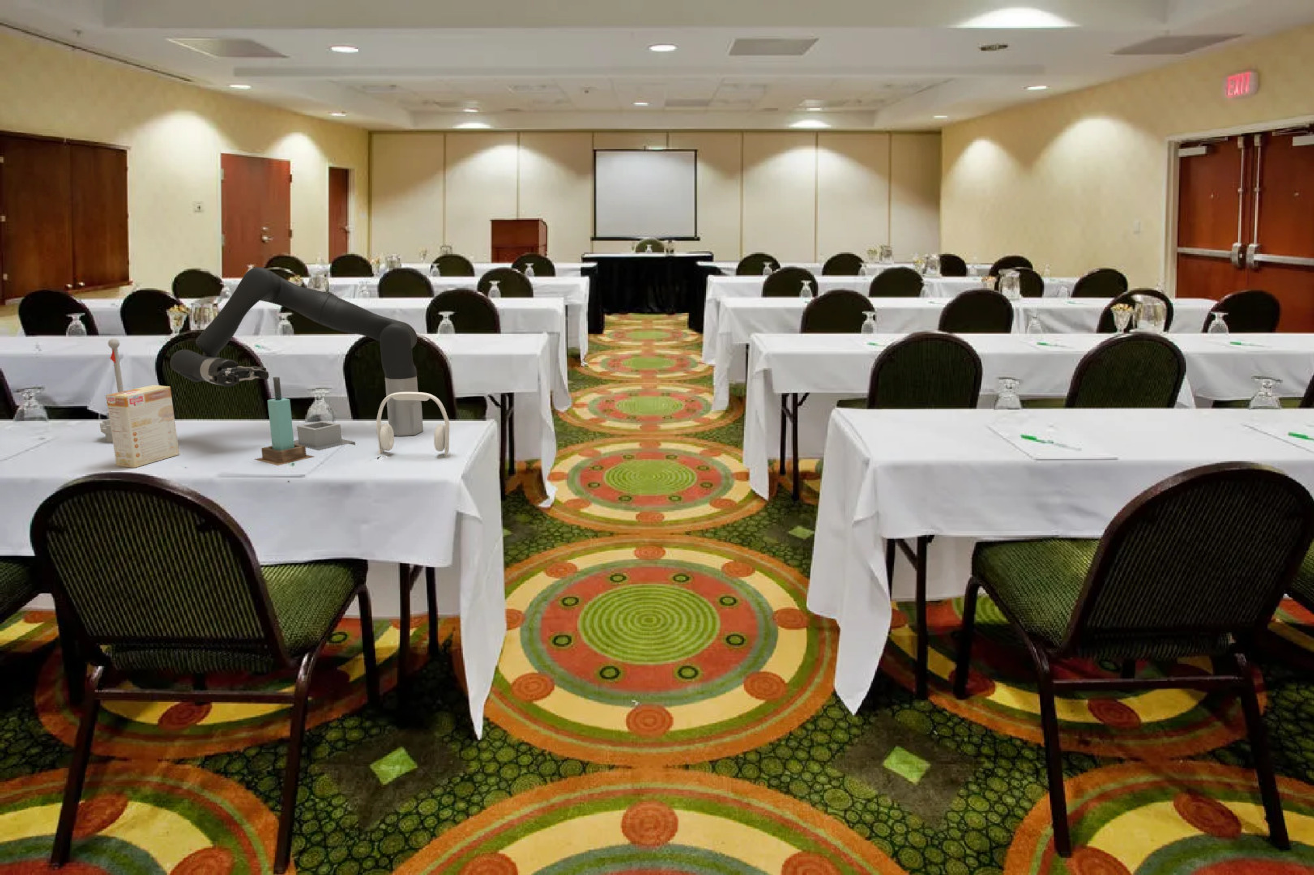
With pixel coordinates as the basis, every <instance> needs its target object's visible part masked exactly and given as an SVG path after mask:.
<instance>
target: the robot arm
mask: <svg viewBox="0 0 1314 875" xmlns="http://www.w3.org/2000/svg"><path fill="white" fill-rule="evenodd" d="M260 301H261V302H266V303H268V304H269V303H270V304H274V305H278V306H281V307H284V308H288V309H290V310H292V311H294V312H296V313H298V314H300V315H302V316H303V317H306V318H307V319H309V320H311V321H313V322H315V323H316V324H317V323H318V324H319V325H322V326H324V327H327V328H330V329H332V330H336V331H338V332H344V333H349V334H353V335H359V336H365V337H367V338H368V337H369V338H371V339H373V340H375V341H377V342H379V350H380V357H381V358H380V359H381V365H382V369H383V372H384V381H385V394H386V395H385V396H386V397H387V396H388V395H390V394H393V393H398V392H419V389H418V387H419V386H418V377H417V376H418V373H417V371H418V370H417V367H416V366H415V363H414V360H413V348H414V347H415V346H416V344H417V342H418V335H417V332H416V330H415V329H414V327H413V326H411V325H410V324H409V323H407V322H405V321H400V320H397V319H393V318H389V317H386V316H382V315H379V314H376V313H374V312H372V311H370V310H368V309H365V308H363V307H362V306H359V305H356V304H355V303H353V302H350V301H347V300H346V299H343V298H340V297H338V296H336V295H332V294H329V293H327V292H323V291H320V290H316V289H311V288H306V287H303V286H300V285H298V284H295V283H293V282H292V281H290V280H287V279H285V278H283V276H282V277H281V276H280V275H279V274H276V273H275V272H273V271H271V270H269V269H267V268H265V267H260V266H256V267H252V268H250V269H248V270H247V271H246V272H245V274H244V275H243V277H242V278H241V280H240V282H239V283H238V285H237V286H236V288H235V289H234V291H233V293H232V294H231V296H230V298H229V299H228V301H227V302H226V303H225V304H224V305H223V308H221V310H220V311H219V312H218V314H217V315H216V316H215V317H214V319H213V320H211V322H210V323H209V324H208V325H207V326H206V328H205V329H204V330H203V331H202V332H201V333H200V334H199V335H198V337H196V340H195V345H196V346H197V347H198V349H200V350H201V351H202V352H203V353H202V354H199V353H198V352H195V351H192V350H190V349H180V350H177V351H176V352H174V353H173V354H172V355H171V358H170V361H169V363H170V367H171V369H172V370H173V371H174V372H176V373H177V374H179V375H181V376H182V377H184V378H186V379H188V380H190V381H191V382H193V383H199V382H202V381H203V382H208V383H209V384H214V385H217V386H224V387H232V386H233V387H234V386H235V385H236V384H240V382H242V381H253V380H254V379H260V380H261V379H263V380H268V379H269V375H270V374H269V371H267V368H266V367H262V366H255V365H252V366H242V365H240V364H239V363H238V362H237V361H235V360H233V359H229V358H224V357H218V355H219V353H220V352H221V351H222V350H223V349H224V348H225V347H226V345H227V344H228V343H229V342H230V341H231V339H232V338H233V337H234V335H235V333H237V330H238V328H239V326H240V325H241V322H242V321H243V320H244V318H245V316H246V315H247V314H248V312H249V311H250V310H251V309H252V308H253V307H254V306H256V305H257V303H259V302H260ZM248 376H249V377H248ZM386 397H385V398H386ZM386 407H387V408H386V409H387V421H388V422H387V424H389V425H390V426H391V427H392V429H393V433H394V437H395V436H396V437H397V436H399V437H406V436H407V437H408V436H416V435H417V434H420V433H421V432H423V431H424V424H423V408H422V407H423V406H422V401H419V400H395V399H393V398H390V399H389V400H388V401H387V402H386Z"/></svg>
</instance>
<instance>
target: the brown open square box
mask: <svg viewBox="0 0 1314 875" xmlns="http://www.w3.org/2000/svg"><path fill="white" fill-rule="evenodd" d="M294 447H295V448H291V449H286V450H282V451H278V450H274V449H273V448H272V445H270V446H264V447H261V455H262V456H261V457H259V458H255V459H254V461H255V460H256V461H258V462H259V461H260V462H263V463H265V464H271V465H274V466H282V465H285V464H286V465H287V464H290V463H295V462H298V461H299V462H300V461H303V460H306V459H311V458H314V457H315V456H313V455H309V454H307V448H306V447H305V446H302V445H298V444H294Z"/></svg>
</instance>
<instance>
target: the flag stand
mask: <svg viewBox="0 0 1314 875" xmlns="http://www.w3.org/2000/svg"><path fill="white" fill-rule="evenodd" d="M120 344H121V343H120V340H118V339H117V338H110V339H109V340H108V342H107V345H108V347H109V348H111V352H112V353H111V354H110V355H111V356H109V359H110V360H111V361H112V362H113V367H114V373H115V374H114V376H115V382H116V388H117V393H118V392H123V391H124V385H123V378H122V370H121V364H120V356H119V349H118V348H119V347H120ZM99 427H100V428H99V429H100V432H101V433H102V434H104V435H105V440H106V442H108V443H113V438H112V432H111V425H110V419H105V420H103V421H102V422H100V423H99Z"/></svg>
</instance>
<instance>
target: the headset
mask: <svg viewBox="0 0 1314 875" xmlns="http://www.w3.org/2000/svg"><path fill="white" fill-rule="evenodd" d="M390 398H393V399H395V400H419V401H421V402H423V401H424V402H426V401H428V400H430V399H431V400H432V401H434V402H435V403H436V405H437V406H438V407H439V409H440V412H441V414H442V417H443V420H444V424H443V423H440V424H438V425H436V427H435V430H434V433H433V445H434V449H435V450H436V451H437V452H442V451H444V457H445V458H446V457H447V456H448V454H449V451H450V420H449V417H448V415H447V412H446V408H445V407H444V405H443V403H442V401H441V400H440V399H439V398H438V397H437V396H435V395H433V394H431V393H427V392H421V391H420V392H419V391H418V392H398V393H393V394H390V395H388V396H387V397H384V399H383V400H382V401H381V403H380V405H379V409H378V411H377V412H378V413H377V416H376V423H375V428H376V435H377V441H378V448H379V449H378V450H379V451H378V453H377V455H380V456H377V459H381V457H382V456H381V454H382V453H383V452H385V451H386V452H387V451H388V452H389V451H390V450H392V449H393V448H394V444H395V435H394V433H393V429H392V427H391V426H390V425H389V423H383V424H382V420H381V419H382V414H383V410H384V407H385V406H386V404H387V401H388V400H389V399H390Z"/></svg>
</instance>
